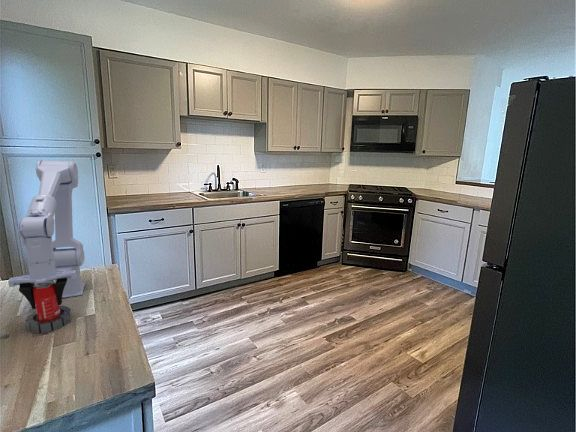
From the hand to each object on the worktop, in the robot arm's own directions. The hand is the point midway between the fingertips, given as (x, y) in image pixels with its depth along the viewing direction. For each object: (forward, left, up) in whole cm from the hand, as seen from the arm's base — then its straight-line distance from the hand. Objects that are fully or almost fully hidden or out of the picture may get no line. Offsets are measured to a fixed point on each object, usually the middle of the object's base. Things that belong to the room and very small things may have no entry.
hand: (47, 305), depth 88 cm
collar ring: (0, 0, -5) cm, 5 cm away
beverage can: (0, 0, -6) cm, 6 cm away
